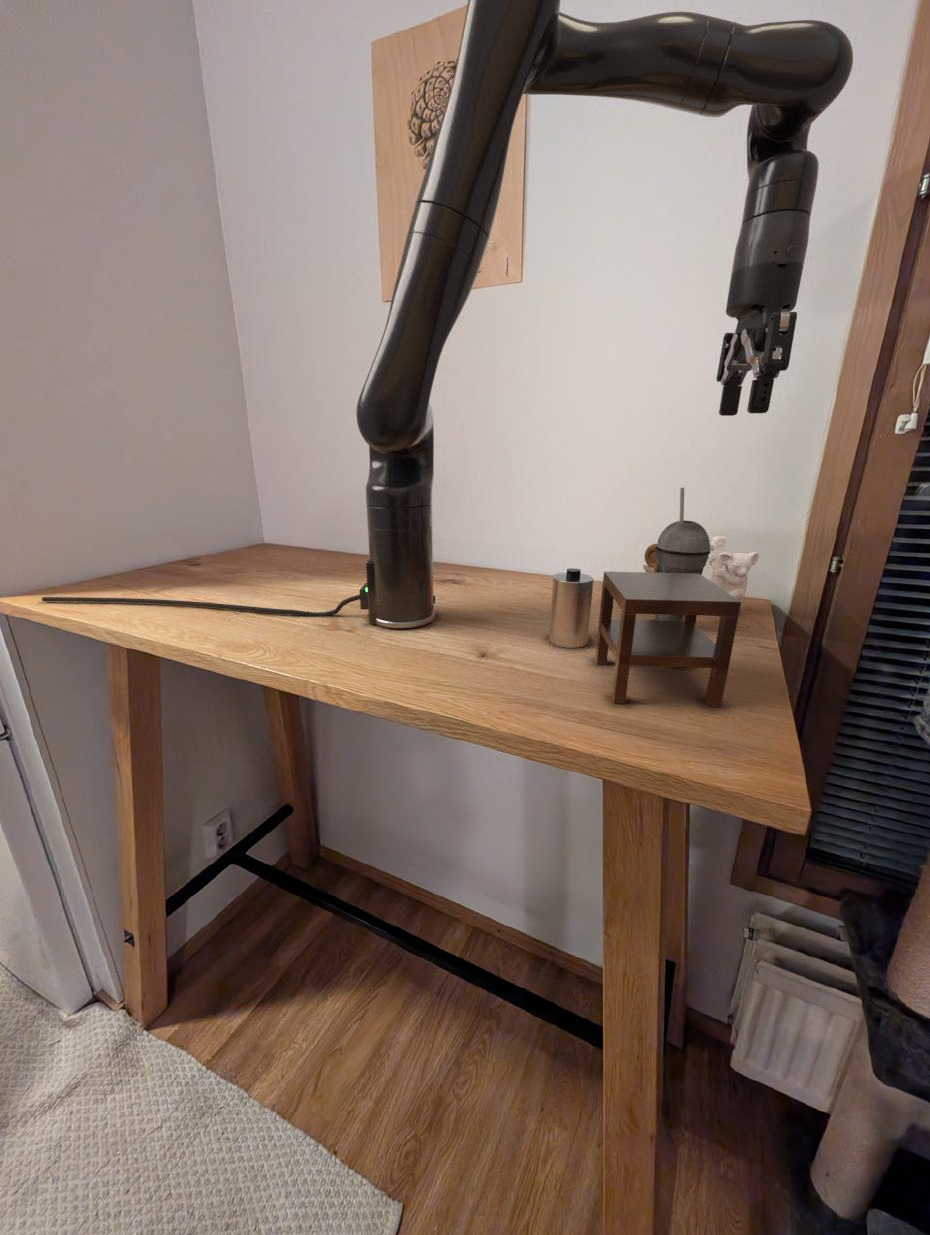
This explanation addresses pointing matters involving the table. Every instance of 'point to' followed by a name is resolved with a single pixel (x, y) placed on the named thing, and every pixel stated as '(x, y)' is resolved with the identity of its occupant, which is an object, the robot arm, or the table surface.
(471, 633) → the table surface
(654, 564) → the snail figurine
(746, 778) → the table surface
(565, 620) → the silver metal canister
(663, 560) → the beverage cup
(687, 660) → the stand
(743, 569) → the koala figurine
